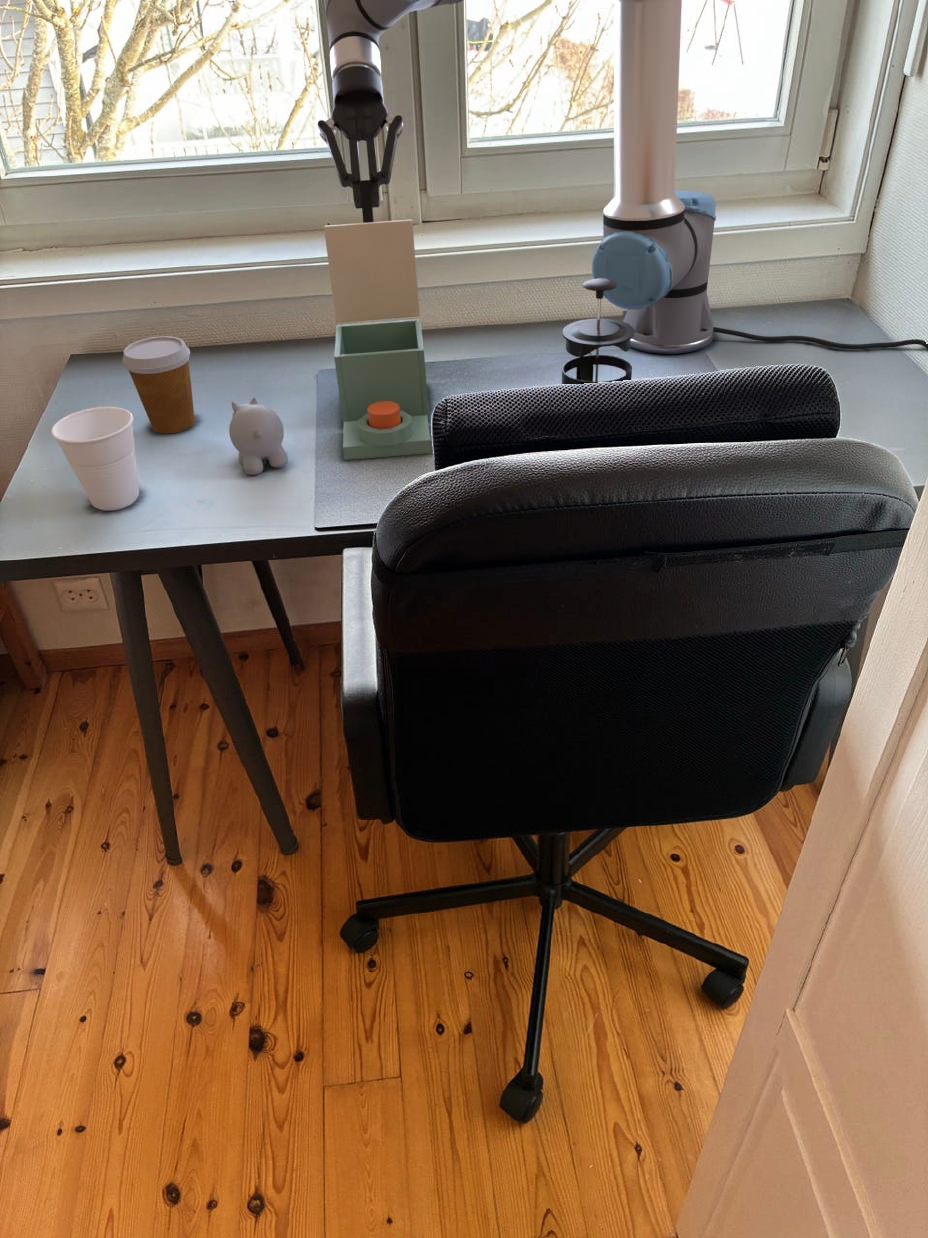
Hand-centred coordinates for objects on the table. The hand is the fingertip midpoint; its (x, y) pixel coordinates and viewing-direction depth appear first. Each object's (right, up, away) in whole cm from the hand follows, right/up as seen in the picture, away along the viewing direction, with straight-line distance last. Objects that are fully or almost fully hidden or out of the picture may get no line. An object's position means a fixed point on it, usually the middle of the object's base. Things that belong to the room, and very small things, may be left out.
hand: (368, 226), depth 139 cm
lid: (+1, -8, -2) cm, 8 cm away
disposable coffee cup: (-30, -29, +3) cm, 42 cm away
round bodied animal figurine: (-15, -36, -7) cm, 39 cm away
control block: (+3, -33, -6) cm, 34 cm away
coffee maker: (+2, -26, +4) cm, 26 cm away
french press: (+32, -35, -10) cm, 48 cm away
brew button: (+3, -31, -9) cm, 32 cm away
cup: (-32, -43, -15) cm, 55 cm away
